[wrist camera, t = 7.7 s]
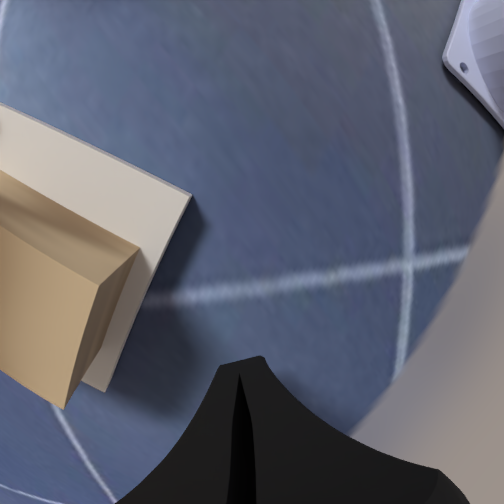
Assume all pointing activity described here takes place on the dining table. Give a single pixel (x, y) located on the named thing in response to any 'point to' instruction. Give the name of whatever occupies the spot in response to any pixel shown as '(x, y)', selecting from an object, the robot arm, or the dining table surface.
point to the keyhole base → (97, 209)
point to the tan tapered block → (54, 290)
